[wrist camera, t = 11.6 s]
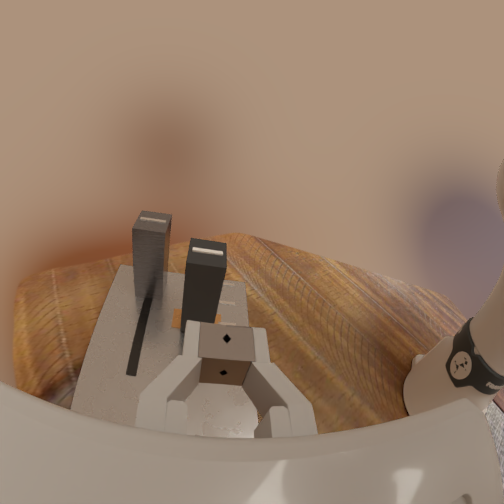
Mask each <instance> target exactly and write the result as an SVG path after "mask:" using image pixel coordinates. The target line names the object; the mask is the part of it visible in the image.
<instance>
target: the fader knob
mask: <svg viewBox="0 0 504 504" xmlns="http://www.w3.org/2000/svg"><path fill="white" fill-rule="evenodd" d="M226 268H227V255H226V243H221V242H215V241H208V240H201V239H194V238H191V240H190V245H189V250H188V256H187V261H186V270H185V279H184V290H183V301H182V313H181V327H180V331H181V332H185V328H186V322H187V320H191V321H198V322H206V323H213V324H214V323H215V318H216V314H217V309H218V304H219V300H220V295H221V291H222V286H223V282H224V277H225V273H226Z"/></svg>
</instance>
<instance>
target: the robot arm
mask: <svg viewBox="0 0 504 504" xmlns="http://www.w3.org/2000/svg"><path fill="white" fill-rule="evenodd" d="M496 185H497V186H496V191H497V200H498V204H499V208H500V211H501V214H502V217H503V221H504V159H503V161H502V163H501V165H500V168H499V171H498V176H497V184H496ZM199 383H211V384H225V385H236V386H242V388H243V390H244V391H245V393H246V394H247V395H248V397H249V398H250V400H251V401H252V403H253V404H254V406H255V407H256V409H257V410H258V411H259V413H260V414H261V416H262V417H263V419H262V420H261V422H260V423H259V424H258V426H257V427H256V428H255V430H254V438H225V437H207V436H195V435H187V408H188V405H187V404H186V403H185V401H186V400H187V398H188V397H189V396H190V395H191V393H192V392H193V391H194V389H195V388H196V387H197V385H198V384H199ZM503 387H504V266H503V269H502V272H501V275H500V277H499V280H498V282H497V284H496V285H495V287H494V289H493V291H492V292H491V294H490V296H489V297H488V299H487V301H486V302H485V303H484V305H483V306H482V307H481V309H480V310H479V311H478V313H477V314H476V315H475V317H472V318H470V319H469V320H468V321H467V322H466V323H465V324H464V325H463V326H462V327H461V328H460V330H459V331H458V332H457V334H456V335H455V336H446V337H444V338H443V339H442V340H441V341H440V342H439V343H438V344H437V345H436V346H435V347H434V348H432V349H431V350H430V351H429V352H428V353H427V354H426V355H421V354H418V355H416V356H415V357H414V358H413V360H412V369H411V371H410V372H409V374H408V375H407V377H406V379H405V383H404V389H403V395H404V402H405V405H406V409H407V411H408V413H409V415H410V416H408V417H404V418H401V419H397V420H393V421H389V422H385V423H381V424H376V425H371V426H367V427H362V428H356V429H351V430H345V431H338V432H331V433H324V434H318V432H317V427H316V422H315V417H314V412H313V407H312V404H311V403H310V402H309V401H308V400H307V399H306V397H305V396H304V395H303V394H302V393H301V392H300V391H299V390H298V389H297V388H296V387H295V386H294V384H293V383H292V382H291V381H290V380H289V379H288V378H287V377H286V376H285V375H284V373H283V372H282V371H281V370H280V369H279V368H278V367H277V366H276V364H275V363H270V356H269V348H268V341H267V334H266V330H265V328H256V327H246V326H234V325H220V324H213V323H206V322H198V321H191V320H187V322H186V328H185V336H184V345H183V353H182V355H178V356H177V357H176V358H175V359H174V360H173V361H172V362H171V363H170V364H169V365H168V366H167V367H166V368H165V369H164V370H163V371H162V372H161V373H160V374H159V375H158V376H157V377H156V378H155V379H154V380H153V381H152V382H151V383H150V384H149V385H148V386H147V387H146V388H145V389H144V390H143V391H142V392H141V393H140V397H139V403H138V409H137V415H136V422H135V427H133V426H129V425H124V424H119V423H115V422H111V421H107V420H103V419H99V418H96V417H92V416H89V415H85V414H82V413H79V412H76V411H72V410H69V409H66V408H64V407H61V406H58V405H55V404H52V403H50V402H47V401H45V400H42V399H40V398H37V397H35V396H32V395H30V394H28V393H25V392H23V391H21V390H19V389H17V388H15V387H12V386H10V385H8V384H6V383H4V382H2V381H0V504H503V502H504V500H503V486H502V478H501V471H500V466H499V461H498V456H497V452H496V448H495V444H494V440H493V437H492V434H491V431H490V428H489V425H488V422H487V419H486V417H485V415H484V414H485V413H486V412H487V406H488V405H489V404H490V402H491V401H492V400H493V398H494V397H495V395H496V394H497V392H498V391H499V390H500V389H501V388H503Z"/></svg>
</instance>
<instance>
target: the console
mask: <svg viewBox="0 0 504 504" xmlns="http://www.w3.org/2000/svg"><path fill="white" fill-rule="evenodd" d="M171 219H172V215H170V214H163V213H156V212H149V211H142V212H141V213H140V215H139V217H138V219H137V221H136V222H135V224H134V226H133V228H132V242H133V266H128V265H122V264H121V265H120V267H119V269H118V272H117V274H116V276H115V278H114V281H113V283H112V285H111V288H110V290H109V293H108V295H107V297H106V300H105V302H104V305H103V308H102V310H101V313H100V315H99V318H98V321H97V323H96V326H95V329H94V332H93V335H92V337H91V340H90V343H89V346H88V349H87V352H86V355H85V358H84V362H83V365H82V368H81V372H80V375H79V378H78V382H77V386H76V389H75V393H74V397H73V401H72V405H71V409H70V410H72V411H76V412H79V413H82V414H85V415H89V416H92V417H96V418H99V419H103V420H107V421H111V422H115V423H119V424H124V425H129V426H133V427H135V422H136V415H137V409H138V403H139V397H140V393H141V392H142V391H143V390H144V389H145V388H146V387H147V386H148V385H149V384H150V383H151V382H152V381H153V380H154V379H155V378H156V377H157V376H158V375H159V374H160V373H161V372H162V371H163V370H164V369H165V368H166V367H167V366H168V365H169V364H170V363H171V362H172V361H173V360H174V359H175V358H176V357H177V356H178V355H182V353H183V345H184V336H185V332H181V331H180V327H181V313H182V301H183V290H184V279H185V274H179V273H173V272H168V258H169V243H170V231H171ZM214 324H220V325H234V326H246V327H249V321H248V310H247V298H246V287H245V282H238V281H230V280H224V282H223V286H222V291H221V295H220V300H219V304H218V309H217V314H216V318H215V323H214ZM185 403H186V404H187V405H188V408H187V435H195V436H207V437H225V438H254V430H255V428H256V427H257V426H258V416H257V409H256V407H255V406H254V404H253V403H252V401H251V400H250V398H249V397H248V395H247V394H246V393H245V391H244V390H243V388H242V386H236V385H225V384H211V383H199V384H198V385H197V387H196V388H195V389H194V391H193V392H192V393H191V395H190V396H189V397H188V398H187V400H186V401H185Z"/></svg>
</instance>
